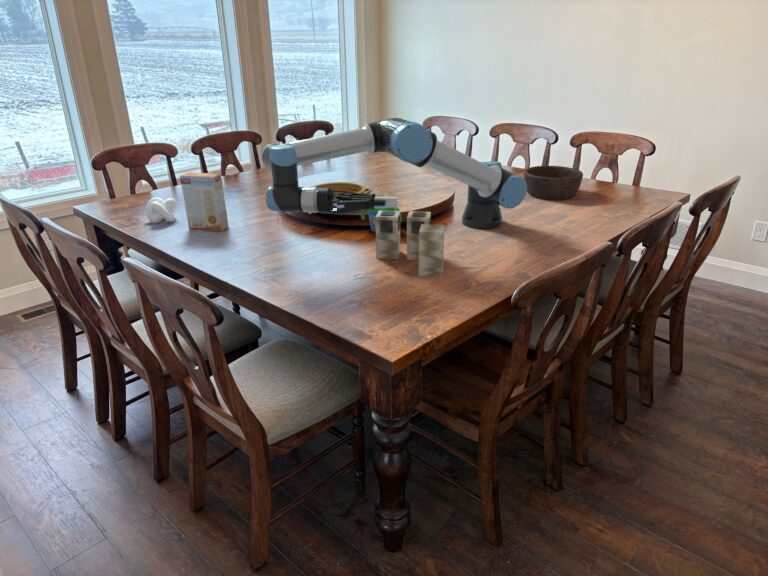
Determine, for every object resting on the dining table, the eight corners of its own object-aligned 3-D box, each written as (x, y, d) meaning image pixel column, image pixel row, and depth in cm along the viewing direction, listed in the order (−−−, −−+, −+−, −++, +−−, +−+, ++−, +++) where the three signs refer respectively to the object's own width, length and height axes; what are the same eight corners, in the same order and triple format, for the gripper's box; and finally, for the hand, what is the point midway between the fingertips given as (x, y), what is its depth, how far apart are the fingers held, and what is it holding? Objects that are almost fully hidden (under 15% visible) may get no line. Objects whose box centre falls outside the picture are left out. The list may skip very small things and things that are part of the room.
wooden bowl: (587, 201, 235) (591, 178, 231) (528, 202, 236) (530, 178, 232) (570, 187, 258) (573, 165, 254) (517, 187, 259) (518, 165, 254)
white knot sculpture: (167, 214, 228) (163, 193, 225) (187, 218, 223) (183, 197, 219) (144, 222, 220) (139, 200, 216) (164, 226, 214) (159, 204, 210)
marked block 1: (430, 252, 184) (431, 211, 178) (429, 260, 178) (430, 217, 172) (409, 251, 185) (409, 210, 179) (406, 259, 179) (406, 217, 173)
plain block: (443, 267, 172) (444, 225, 166) (441, 276, 166) (443, 232, 160) (420, 267, 173) (421, 224, 167) (418, 275, 167) (419, 231, 161)
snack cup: (406, 229, 206) (406, 203, 202) (393, 238, 198) (392, 210, 193) (370, 223, 213) (369, 197, 209) (356, 231, 205) (355, 205, 200)
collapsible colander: (366, 197, 247) (366, 179, 244) (377, 213, 226) (377, 193, 222) (300, 202, 242) (298, 184, 238) (304, 218, 220) (303, 199, 217)
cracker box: (229, 227, 212) (221, 173, 203) (221, 232, 207) (213, 176, 198) (197, 224, 215) (188, 171, 207) (188, 229, 210) (179, 175, 201)
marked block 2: (401, 251, 186) (400, 210, 180) (398, 259, 179) (398, 216, 173) (379, 250, 187) (378, 209, 181) (376, 258, 180) (375, 216, 174)
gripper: (324, 206, 172) (399, 208, 169) (313, 218, 161) (394, 221, 157) (323, 182, 169) (399, 184, 166) (311, 193, 157) (393, 195, 154)
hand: (396, 202), depth 162 cm, fingers closed
